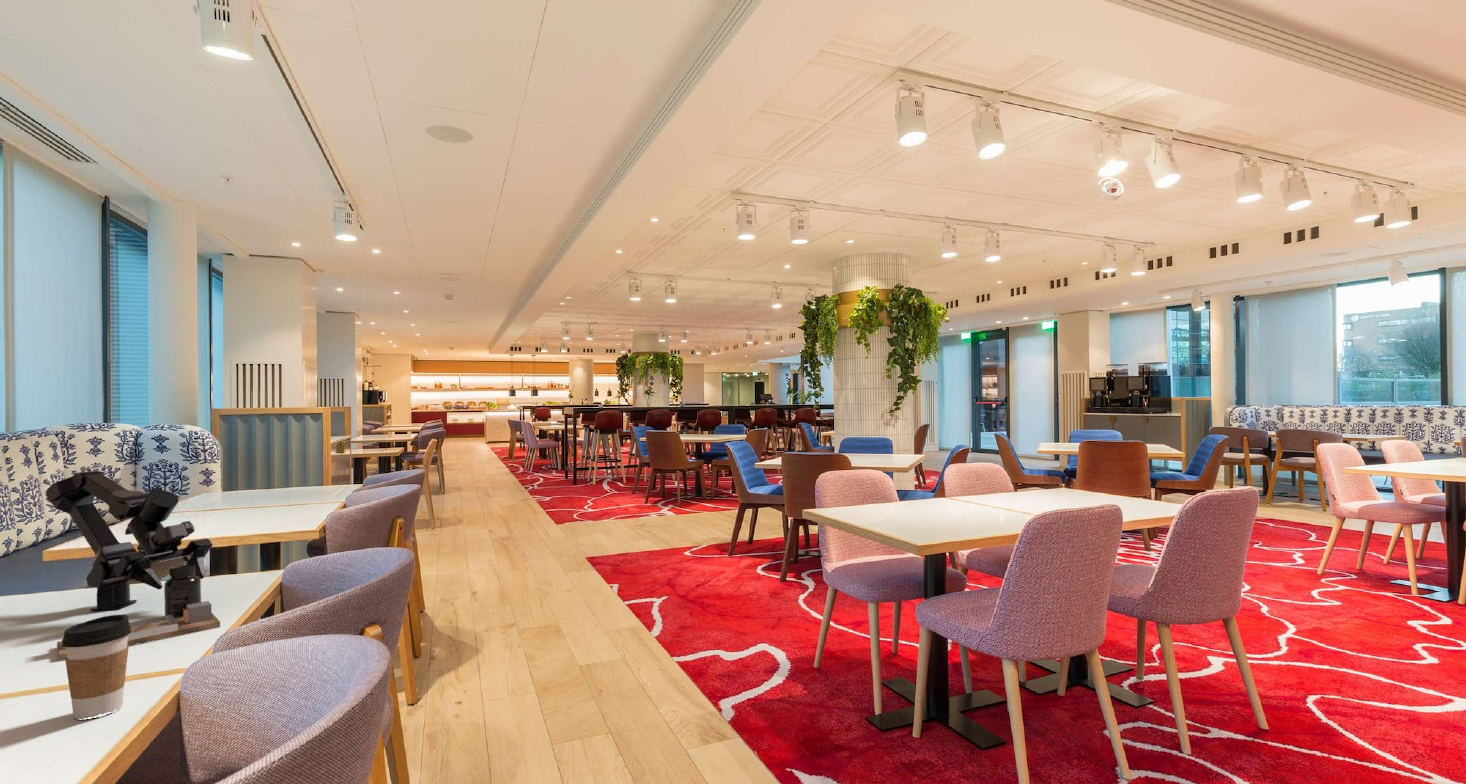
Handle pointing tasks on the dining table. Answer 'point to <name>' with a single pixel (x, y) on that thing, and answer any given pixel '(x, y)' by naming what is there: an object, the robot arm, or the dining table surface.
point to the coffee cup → (97, 664)
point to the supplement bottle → (181, 590)
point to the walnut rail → (168, 626)
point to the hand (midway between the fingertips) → (182, 582)
